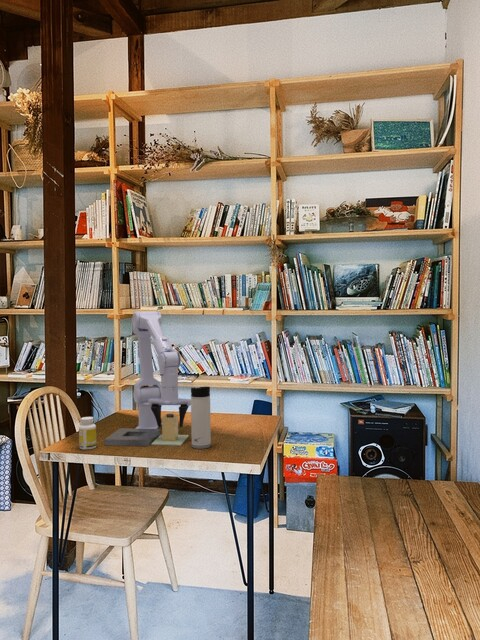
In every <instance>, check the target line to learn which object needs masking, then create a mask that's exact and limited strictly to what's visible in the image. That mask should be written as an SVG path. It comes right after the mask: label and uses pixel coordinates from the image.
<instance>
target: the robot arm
mask: <svg viewBox="0 0 480 640" xmlns="http://www.w3.org/2000/svg"><path fill="white" fill-rule="evenodd" d="M162 320H163V319H162V314H161V312H160V311H159V310H153V311H152V310H149V311H147V310H146V311H145V310H144V311H138V310H136V311H135V310H134V312H133V314H132V318H131V325H132V326H131V328H132V333H133V335H136V336H137V344H138V359H139V374H140V378H139V379H138V380H137V381H136V382H135V383H134V384H133V394H132V396H133V400H134V403H135V404H136V405H138V406H137V407H138V425H137V426H136V427H135V428H134V429H159V428H160V427H162V415H161V414H162V406H178V413H179V414H178V417H179V421H178V427H179V428H182V427H183V426H184V421H185V417H186V414H187V411H188V409H189V407H191V398H190V399H189V398H179V374H178V373H179V369H178V368H180V366H181V354H180V352H179V351H178V350H176V349H174V348H173V346H172V344H171V341H170V340H169V338H168V337H167V336H165V335H164V333H163V330H162V327H161V326H162ZM151 337H152V338H151ZM152 339H153V342H152ZM152 346H153V347H154V350H155V352H156V354H157V364H158V368H159V371H158V372H159V374H160V381H159V380H158V379H157V378H155V377H154V364H153V353H152V352H153V351H152Z"/></svg>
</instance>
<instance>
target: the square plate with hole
mask: <svg viewBox="0 0 480 640" xmlns="http://www.w3.org/2000/svg"><path fill="white" fill-rule="evenodd" d="M161 432H162V429H161V428H157V429H135V428H132V427H131V428H123V427H120V428H118V429H117V430H115V431H114V432H112V433H111V434H110V435H108V436H107V437H105V438H104V446H113V447H115V446H116V447H117V446H118V447H119V446H125V447H149V446H150V445H151V444H152V443H153V442H154V441H155V440H156V439H157V438H158V437H159V436H160V435H162V433H161Z"/></svg>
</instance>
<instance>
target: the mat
mask: <svg viewBox="0 0 480 640" xmlns="http://www.w3.org/2000/svg"><path fill="white" fill-rule="evenodd" d="M188 437H189V434H178V439H177V440H176V441H162V434H161V435H160V436H159V437H158V438H157V439H156V440H155V441H153V442H152V443H151V444H150V445H151V446H180V447H181V446H182V445H183V443H184V442H185V441H186V440H187V439H188Z"/></svg>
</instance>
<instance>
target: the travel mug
mask: <svg viewBox="0 0 480 640" xmlns="http://www.w3.org/2000/svg"><path fill="white" fill-rule="evenodd" d="M190 399H191V405H190V421H191V422H190V424H191V429H190V430H191V433H190V434H191V448H193V449H197V450H198V449H199V450H204V449H207V448H208V449H209V448H210V447H211V446H212V441H211V440H212V439H211V435H212V434H211V433H212V431H211V428H212V427H211V387H210V386H199V387H190Z"/></svg>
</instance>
